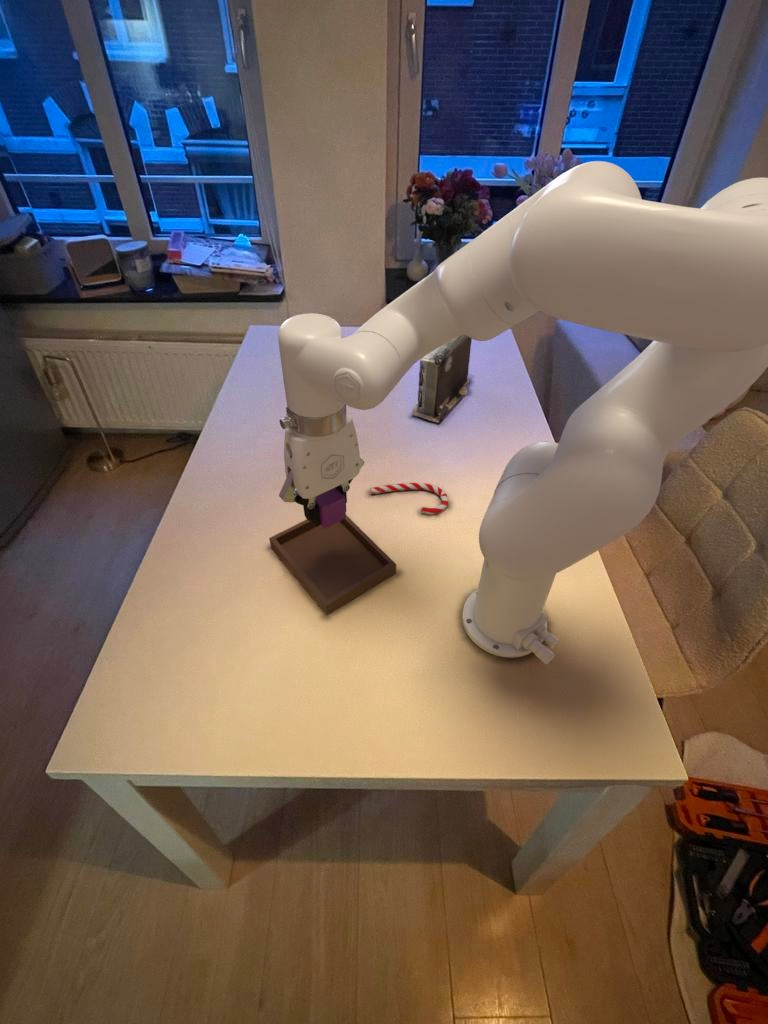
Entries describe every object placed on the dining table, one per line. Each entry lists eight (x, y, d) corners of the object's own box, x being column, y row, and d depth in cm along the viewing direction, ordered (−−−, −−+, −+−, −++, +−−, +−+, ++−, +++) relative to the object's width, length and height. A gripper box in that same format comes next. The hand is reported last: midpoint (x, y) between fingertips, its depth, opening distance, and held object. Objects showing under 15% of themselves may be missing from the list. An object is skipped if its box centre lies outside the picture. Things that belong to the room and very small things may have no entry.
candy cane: (372, 476, 102) (450, 484, 101) (372, 481, 103) (449, 489, 102) (366, 504, 97) (447, 512, 95) (366, 509, 98) (447, 517, 96)
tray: (396, 573, 86) (396, 564, 85) (326, 615, 81) (325, 606, 79) (336, 514, 96) (335, 504, 95) (271, 547, 91) (268, 537, 89)
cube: (346, 517, 81) (345, 496, 78) (324, 529, 79) (322, 508, 76) (328, 500, 83) (326, 479, 80) (306, 510, 82) (304, 489, 79)
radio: (452, 372, 134) (458, 314, 124) (483, 381, 131) (492, 323, 120) (404, 414, 120) (406, 354, 110) (436, 426, 117) (442, 365, 106)
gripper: (274, 451, 62) (291, 553, 75) (386, 405, 70) (384, 505, 83) (245, 422, 67) (266, 523, 79) (353, 381, 74) (356, 480, 87)
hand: (326, 513), depth 81 cm, fingers closed on cube, 4 cm apart
